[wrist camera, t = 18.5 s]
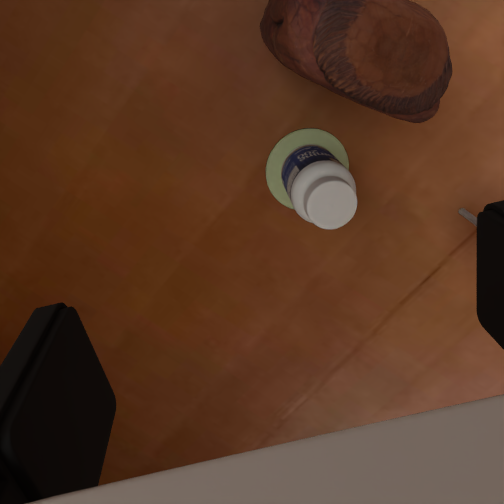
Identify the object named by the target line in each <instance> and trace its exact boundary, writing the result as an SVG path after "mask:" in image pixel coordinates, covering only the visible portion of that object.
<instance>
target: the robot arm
mask: <svg viewBox="0 0 504 504" xmlns="http://www.w3.org/2000/svg"><path fill="white" fill-rule="evenodd" d="M477 316H478V319H479V321H480V323H481V325H482V326H483V328H484V329H485V330H486V331H487V332H488V333H489V334H490V335H491V336H492V337H493V338H494V340H495V341H496V342H497V343H498V344H499V345H500V346H501V347H502V348H503V349H504V200H503V201H499V202H494V203H490V204H487V205H486V206H485V207H484V210H483V212H480V213H479V214H478V216H477ZM115 411H116V399H115V395H114V392H113V390H112V388H111V386H110V384H109V381H108V379H107V377H106V375H105V373H104V370H103V368H102V366H101V364H100V362H99V359H98V357H97V355H96V353H95V351H94V348H93V346H92V344H91V342H90V340H89V337H88V335H87V333H86V331H85V329H84V326H83V324H82V322H81V320H80V318H79V315H78V313H77V311H76V310H75V309H74V307H67V306H66V305H65V304H64V303H57V304H53V305H49V306H44V307H40V308H36V309H35V310H34V312H33V313H32V315H31V317H30V318H29V320H28V322H27V323H26V325H25V327H24V328H23V330H22V331H21V333H20V335H19V336H18V338H17V340H16V341H15V343H14V345H13V346H12V348H11V350H10V351H9V353H8V354H7V356H6V358H5V359H4V361H3V363H2V364H1V366H0V504H504V394H502V395H498V396H493V397H489V398H484V399H480V400H475V401H471V402H466V403H462V404H457V405H453V406H448V407H444V408H439V409H435V410H430V411H426V412H421V413H417V414H412V415H408V416H403V417H399V418H395V419H390V420H386V421H381V422H377V423H372V424H368V425H363V426H359V427H354V428H350V429H345V430H341V431H337V432H332V433H328V434H323V435H319V436H315V437H310V438H306V439H301V440H297V441H293V442H288V443H284V444H279V445H275V446H271V447H266V448H262V449H257V450H253V451H249V452H244V453H240V454H235V455H231V456H226V457H222V458H218V459H213V460H209V461H204V462H200V463H195V464H191V465H187V466H183V467H178V468H174V469H170V470H165V471H161V472H157V473H152V474H148V475H144V476H139V477H135V478H131V479H126V480H122V481H118V482H113V483H109V484H105V485H100V486H98V483H99V479H100V475H101V471H102V466H103V462H104V458H105V454H106V449H107V445H108V441H109V437H110V433H111V428H112V424H113V420H114V416H115Z"/></svg>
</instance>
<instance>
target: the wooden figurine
mask: <svg viewBox="0 0 504 504" xmlns="http://www.w3.org/2000/svg"><path fill="white" fill-rule="evenodd" d="M260 29H261V35H262V38H263V40H264V43H265V44H266V45H267V47H268V48H269V50H270V51H271V52H272V53H273V55H274V56H275V57H276V58H277V59H278V60H279V61H280V62H281V63H282V64H283V65H284V66H286V67H288V68H289V69H291V70H293V71H294V72H296V73H297V74H299V75H300V76H302V77H304V78H306V79H309V80H311V81H313V82H315V83H317V84H320V85H321V86H323V87H325V88H327V89H329V90H331V91H333V92H335V93H337V94H339V95H340V96H343V97H346V98H348V99H350V100H352V101H354V102H356V103H358V104H361V105H363V106H366V107H368V108H371V109H373V110H376V111H379V112H381V113H384V114H386V115H389V116H391V117H394V118H397V119H401V120H405V121H409V122H413V123H421V122H424V121H427V120H429V119H430V118H432V117H433V116H434V115H435V114H436V112H437V111H438V108H439V103H440V98H441V97H442V96H443V94H444V92H445V91H446V89H447V87H448V84H449V80H450V78H451V76H452V63H451V60H450V55H449V47H448V43H447V38H446V35H445V32H444V30H443V28H442V26H441V25H440V23H439V22H438V20H437V19H436V18H435V17H434V16H433V15H432V14H431V13H430V12H429V11H428V10H427V9H425V8H423V7H421V6H420V5H418V4H416V3H414V2H411V1H408V0H269V3H268V5H267V7H266V9H265V12H264V16H263V19H262V21H261V23H260Z"/></svg>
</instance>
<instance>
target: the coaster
mask: <svg viewBox="0 0 504 504" xmlns="http://www.w3.org/2000/svg"><path fill="white" fill-rule="evenodd" d="M306 144H316V145H320V146H322V147H324V148H326V149H327V150H328V151H329V152H330V153H332V154H333V155H334V156H335V157H336V158H337V159H338V160H339V161H340V162H341V163H342V164H343V166H345V167H346V168H347V170H348V171H349V161H348V156H347V153H346V151H345V149H344V147H343V145H342V144H341V142H340V141H339V140H338V139H337V138H336V137H334V136H333V135H332V134H330V133H328V132H326V131H323V130H320V129H315V128H305V129H300V130H296V131H294V132H292V133H289V134H288V135H286V136H285V137H283V138H282V139H281V140H280V141H279V142H278V143H277V144H276V145H275V146H274V148H273V149H272V151H271V153H270V155H269V157H268V160H267V164H266V180H267V184H268V187H269V189H270V191H271V193H272V194H273V196H274V197H275V198H276V199H277V200H278V201H279V202H280V203H282V204H283V205H285V206H287V207H289V208H291V209H294V207H293V205H292V203H291V201H290V199H289V196H288V194H287V192H286V190H285V188H284V186H283V183H282V179H281V168H282V164H283V162H284V160H285V158H286V156H287V155H288V154H289V153H290V152H291V151H292V150H294V149H295V148H297V147H299V146H301V145H306Z"/></svg>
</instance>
